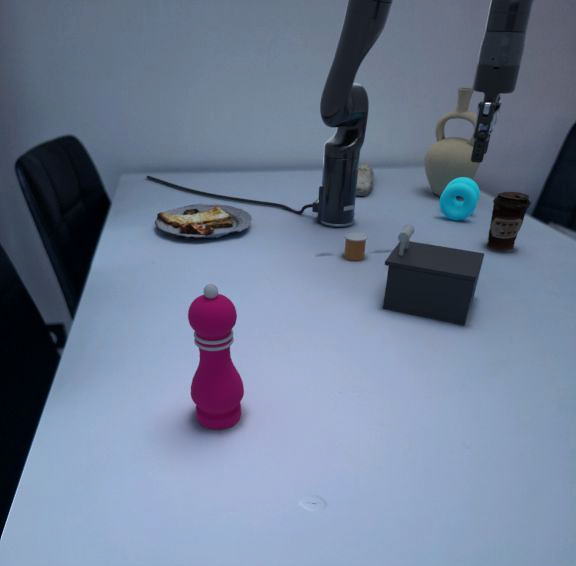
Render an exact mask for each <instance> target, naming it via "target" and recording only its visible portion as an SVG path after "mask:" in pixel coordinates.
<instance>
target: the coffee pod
mask: <svg viewBox="0 0 576 566" xmlns="http://www.w3.org/2000/svg"><path fill="white" fill-rule="evenodd" d="M344 239H345V242H344V243H345V245H344V258H345V259H346V260H349V261H354V262H355V261H362V260H364V258H365V252H366V251H365V250H366V241H367V240H368V236H367V234H365V233H362V232H355V231H354V232H346V233H345V234H344Z"/></svg>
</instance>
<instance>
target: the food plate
mask: <svg viewBox="0 0 576 566" xmlns="http://www.w3.org/2000/svg"><path fill="white" fill-rule="evenodd" d="M252 220H253V218H252V215H251V214H250V213H249V212H248V211H247V210H245V209H243V208H240V207H235V206H233V205H228V204H220V203H219V204H216V203H213V204H205V203H197V204H189V205H185V206H180V207H176V208H172V209H169V210H167V211H163V212H162V211H159V212H158V213H157V214H156V219H155V221H154V225H155V227H156V228H157V229H158V231H160V232H163V233H167V234H170V235H172V236H173V237H182V239H184V237H185V238H187V239H188V238H191V237H193V238H194V239H198V238H205V239H214V238H215V239H218V238H220V237H223V236H227V235H229V234H230V233H231V234H232V233H234V232H242V231H244V230H245V229H248V228H249V227H250V226H251V222H252Z"/></svg>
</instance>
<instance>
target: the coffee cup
mask: <svg viewBox="0 0 576 566" xmlns="http://www.w3.org/2000/svg"><path fill="white" fill-rule="evenodd" d="M529 198H530V195H529V194H527V193H523V192H517V191H503V192H499V193H497V196H496V197H494V199H493V200H492V202H493V204H492V205H493V206H492V212H491V218H490V225H489V230H488V237H487V244H486V247H487V248H488V249H490V250H492V251H497V252H505V253H506V252H512V251H514V248H515V242H516V240H517V237H518V235H519V232H520V230H521V228H522V226H523V223H524V219H525V216H526V214H527V211H528V209H529V208H530V206H531V204H532V203H531V200H530V199H529Z"/></svg>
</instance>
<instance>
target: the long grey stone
mask: <svg viewBox="0 0 576 566" xmlns="http://www.w3.org/2000/svg"><path fill="white" fill-rule="evenodd" d="M374 174H375V173H374V170H373V168H372V167H371V166H370V165H369V164H368V163H366V162H361V161H359V168H358V179H357V190H356V197H357V196H358V197H366V196H368V195H369V194H370V192H371V190H373V187H374V184H375V183H374V182H373V181H374Z"/></svg>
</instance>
